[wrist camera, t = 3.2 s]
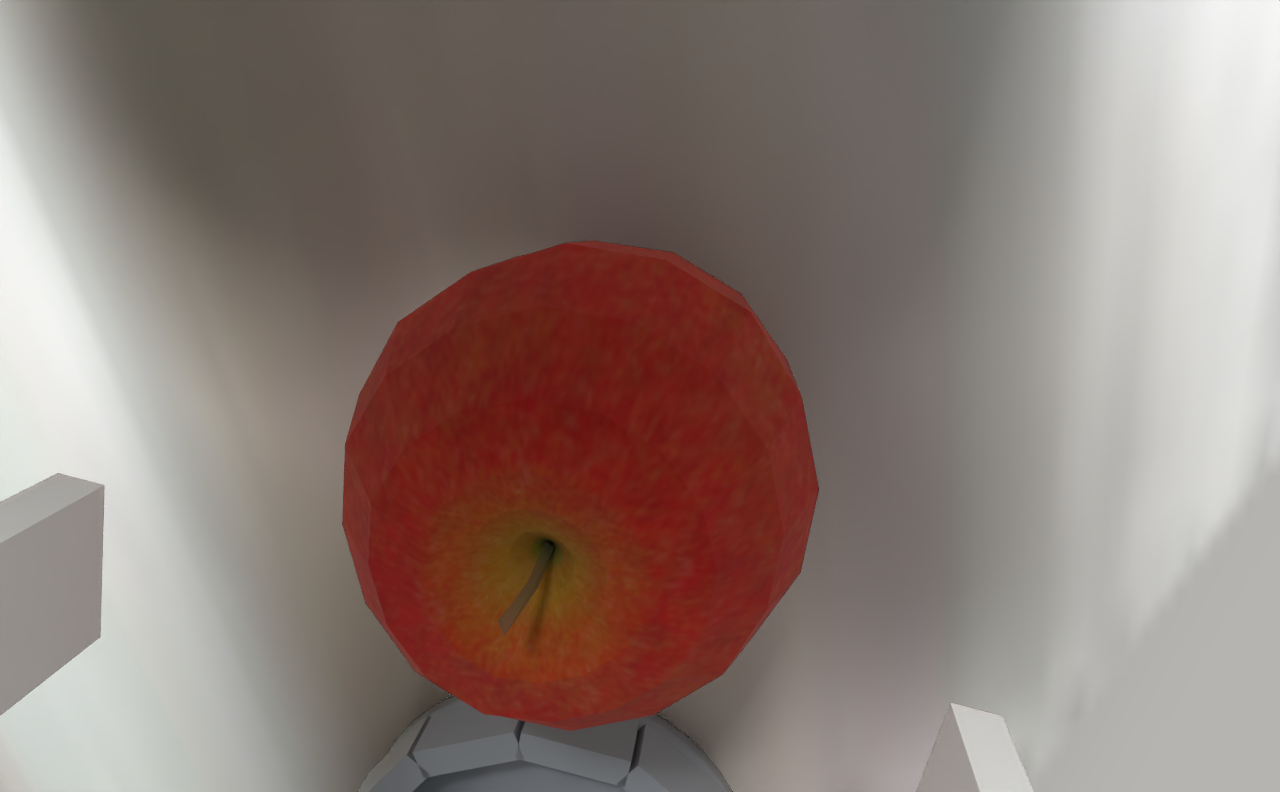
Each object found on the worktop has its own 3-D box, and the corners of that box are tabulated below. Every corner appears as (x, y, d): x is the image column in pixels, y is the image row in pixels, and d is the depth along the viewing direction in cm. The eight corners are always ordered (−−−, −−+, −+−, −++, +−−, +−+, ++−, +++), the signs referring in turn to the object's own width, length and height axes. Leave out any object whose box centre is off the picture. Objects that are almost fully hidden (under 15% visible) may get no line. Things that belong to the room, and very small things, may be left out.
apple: (679, 590, 29) (613, 988, 16) (410, 424, 28) (111, 696, 15) (873, 326, 26) (992, 556, 13) (573, 133, 25) (370, 163, 12)
